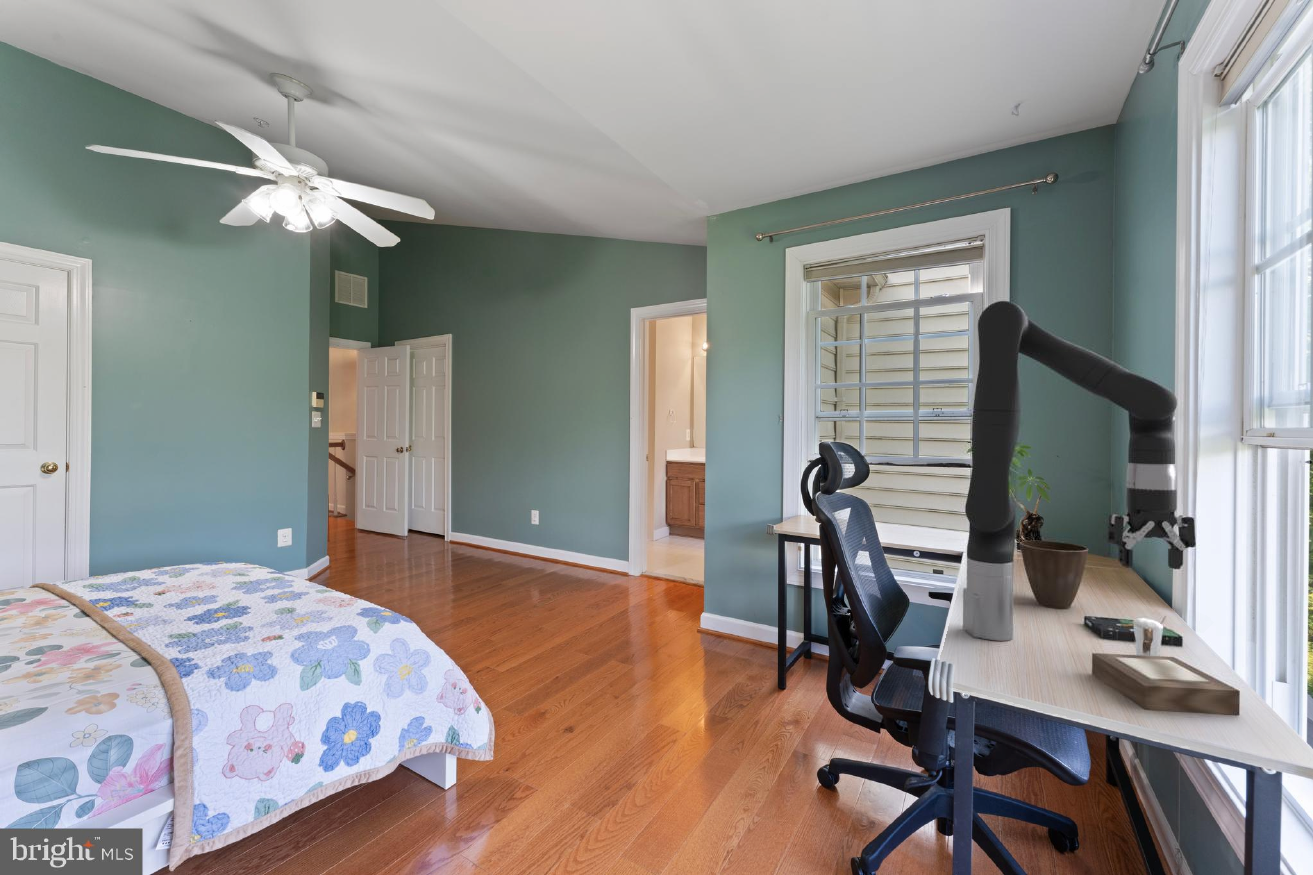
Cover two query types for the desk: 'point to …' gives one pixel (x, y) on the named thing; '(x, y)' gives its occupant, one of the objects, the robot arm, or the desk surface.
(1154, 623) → the milkshake
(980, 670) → the desk surface
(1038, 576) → the plant pot
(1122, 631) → the disk drive
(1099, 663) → the plinth
